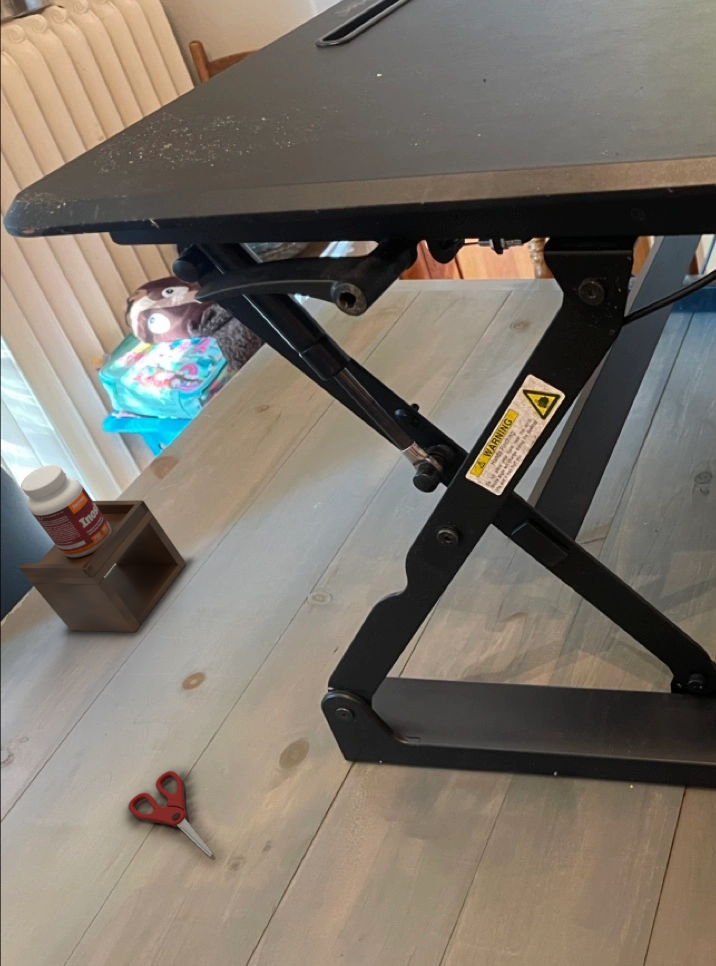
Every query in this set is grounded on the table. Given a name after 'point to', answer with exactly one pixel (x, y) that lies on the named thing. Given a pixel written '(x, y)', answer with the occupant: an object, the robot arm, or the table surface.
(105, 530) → the pill bottle
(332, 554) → the table surface
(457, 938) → the table surface
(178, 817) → the scissors
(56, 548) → the shelf
